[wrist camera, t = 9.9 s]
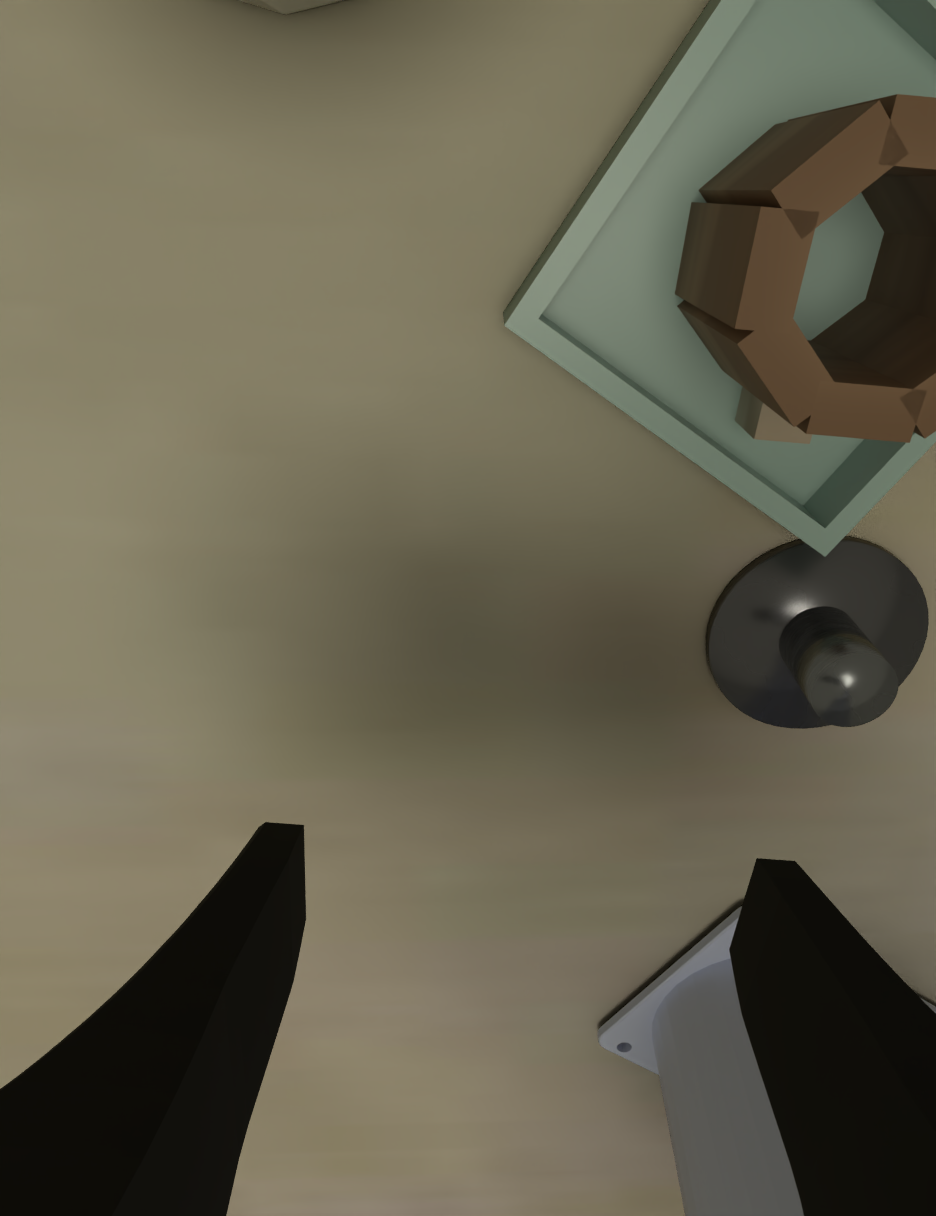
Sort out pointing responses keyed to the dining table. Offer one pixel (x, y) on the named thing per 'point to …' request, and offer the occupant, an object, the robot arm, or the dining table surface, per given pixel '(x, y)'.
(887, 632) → the dark grey round stand
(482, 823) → the dining table surface
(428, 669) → the dining table surface
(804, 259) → the brown hollow octagonal cylinder
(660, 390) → the tray
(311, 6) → the white cup
